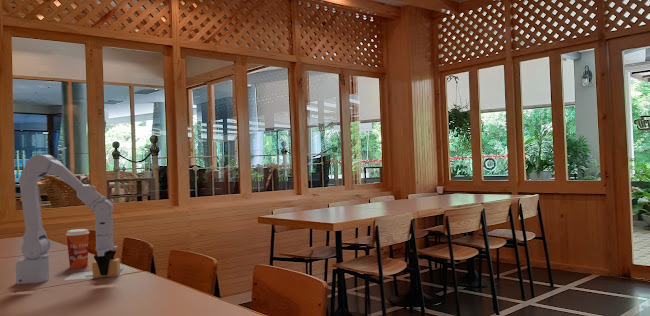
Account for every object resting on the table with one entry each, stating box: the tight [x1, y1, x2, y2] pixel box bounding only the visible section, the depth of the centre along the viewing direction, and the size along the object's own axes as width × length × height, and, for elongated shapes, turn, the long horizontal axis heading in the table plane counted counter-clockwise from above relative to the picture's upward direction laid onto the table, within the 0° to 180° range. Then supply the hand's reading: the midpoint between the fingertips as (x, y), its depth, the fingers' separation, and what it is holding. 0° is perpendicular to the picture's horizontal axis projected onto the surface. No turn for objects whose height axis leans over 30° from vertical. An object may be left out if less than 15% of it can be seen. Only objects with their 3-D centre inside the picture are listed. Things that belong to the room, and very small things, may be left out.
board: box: [63, 268, 126, 281], centre depth 181 cm, size 18×12×1 cm, turn 102°
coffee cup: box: [65, 228, 90, 269], centre depth 196 cm, size 8×8×15 cm
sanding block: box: [91, 257, 121, 278], centre depth 179 cm, size 8×5×5 cm, turn 102°
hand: (105, 273), depth 179 cm, fingers closed on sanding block, 5 cm apart
